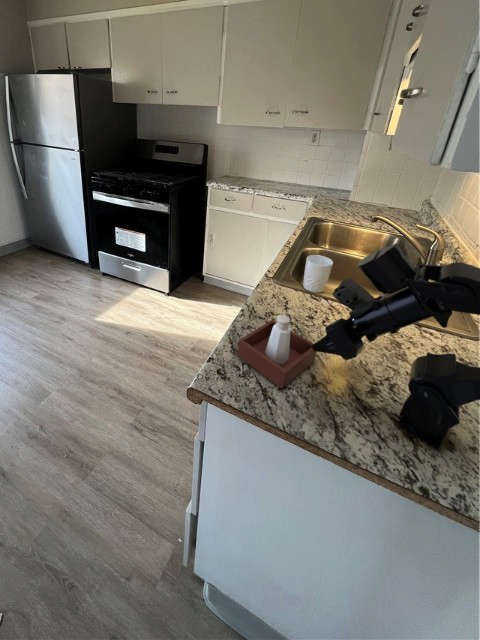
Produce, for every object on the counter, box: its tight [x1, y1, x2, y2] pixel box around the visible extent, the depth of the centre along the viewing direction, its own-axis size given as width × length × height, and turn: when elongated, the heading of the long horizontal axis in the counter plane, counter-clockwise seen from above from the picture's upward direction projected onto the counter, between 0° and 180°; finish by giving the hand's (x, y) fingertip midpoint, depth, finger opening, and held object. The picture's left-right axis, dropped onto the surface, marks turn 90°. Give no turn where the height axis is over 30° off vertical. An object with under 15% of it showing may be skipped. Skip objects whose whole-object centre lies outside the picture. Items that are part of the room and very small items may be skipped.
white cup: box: [302, 254, 334, 293], centre depth 101 cm, size 8×8×10 cm
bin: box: [236, 319, 318, 390], centre depth 72 cm, size 13×13×5 cm
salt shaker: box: [265, 314, 291, 365], centre depth 70 cm, size 5×5×11 cm
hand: (322, 340), depth 65 cm, fingers open, 9 cm apart
